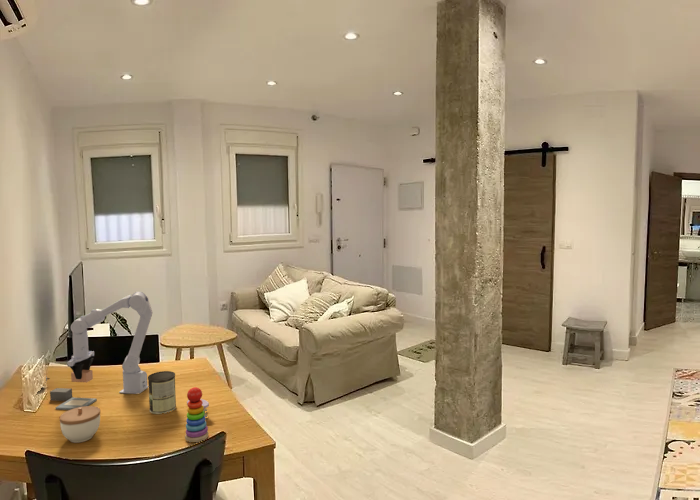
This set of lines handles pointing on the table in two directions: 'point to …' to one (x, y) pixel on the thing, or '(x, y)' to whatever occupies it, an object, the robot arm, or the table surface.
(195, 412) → the stacking toy
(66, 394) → the charcoal brick
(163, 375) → the coffee can
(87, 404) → the slate baseplate
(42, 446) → the table surface
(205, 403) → the toy table
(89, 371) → the terracotta brick
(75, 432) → the lidded bowl
